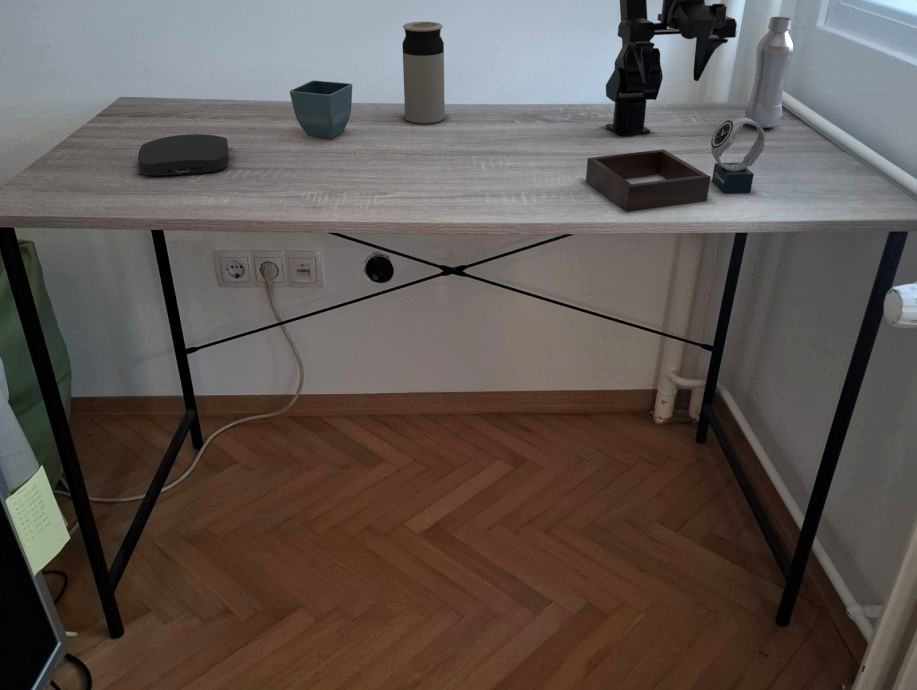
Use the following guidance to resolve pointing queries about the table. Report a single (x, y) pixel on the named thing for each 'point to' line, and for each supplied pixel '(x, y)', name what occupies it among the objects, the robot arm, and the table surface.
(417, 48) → the travel mug
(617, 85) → the robot arm
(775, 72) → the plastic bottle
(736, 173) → the watch
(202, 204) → the table surface
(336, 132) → the flower pot
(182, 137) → the media streaming box
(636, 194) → the tray
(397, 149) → the table surface
